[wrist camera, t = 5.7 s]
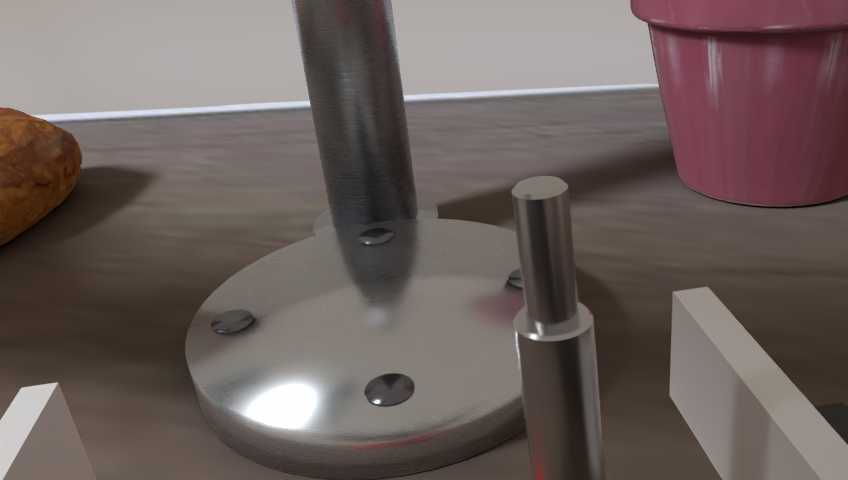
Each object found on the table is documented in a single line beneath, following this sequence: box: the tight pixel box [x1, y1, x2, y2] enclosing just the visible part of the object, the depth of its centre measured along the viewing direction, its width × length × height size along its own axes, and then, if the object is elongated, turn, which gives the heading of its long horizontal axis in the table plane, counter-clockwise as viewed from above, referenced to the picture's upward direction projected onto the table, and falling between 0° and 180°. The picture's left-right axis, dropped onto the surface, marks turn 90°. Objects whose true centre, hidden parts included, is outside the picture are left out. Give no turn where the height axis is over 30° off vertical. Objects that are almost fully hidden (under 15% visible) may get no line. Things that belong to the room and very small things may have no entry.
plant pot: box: [630, 0, 848, 207], centre depth 38 cm, size 14×14×13 cm
